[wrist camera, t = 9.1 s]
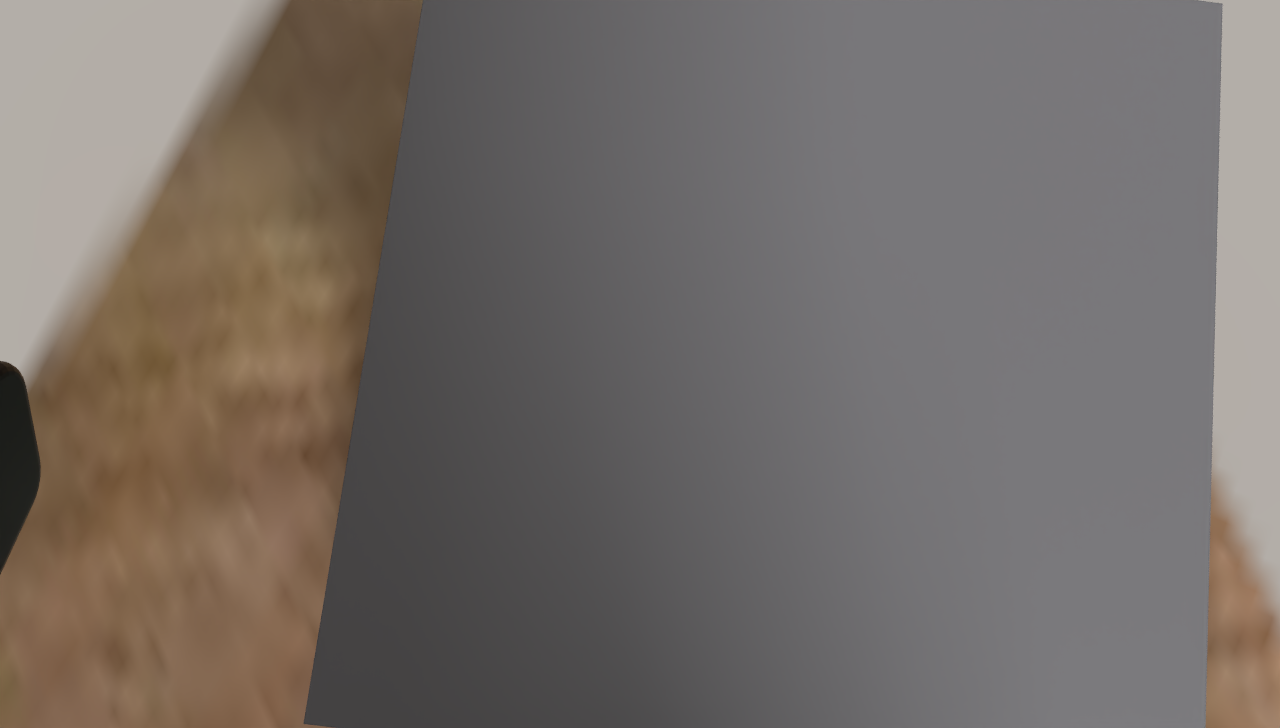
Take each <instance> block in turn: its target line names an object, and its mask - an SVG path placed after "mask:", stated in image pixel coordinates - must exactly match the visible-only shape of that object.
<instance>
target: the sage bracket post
mask: <svg viewBox="0 0 1280 728" xmlns="http://www.w3.org/2000/svg"><path fill="white" fill-rule="evenodd" d="M1221 40H1222V4H1221V3H1213V2H1206V1H1198V0H423V4H422V10H421V16H420V22H419V28H418V34H417V40H416V46H415V53H414V59H413V65H412V71H411V77H410V83H409V89H408V95H407V101H406V107H405V113H404V119H403V125H402V131H401V137H400V143H399V149H398V155H397V162H396V168H395V174H394V180H393V186H392V192H391V198H390V204H389V210H388V216H387V222H386V228H385V234H384V240H383V246H382V252H381V258H380V264H379V271H378V277H377V283H376V289H375V295H374V301H373V307H372V313H371V319H370V325H369V331H368V337H367V343H366V349H365V355H364V361H363V367H362V373H361V380H360V386H359V392H358V398H357V404H356V410H355V416H354V422H353V428H352V434H351V440H350V446H349V452H348V458H347V464H346V470H345V476H344V482H343V489H342V495H341V501H340V507H339V513H338V519H337V525H336V531H335V537H334V543H333V549H332V555H331V561H330V567H329V573H328V579H327V585H326V591H325V598H324V604H323V610H322V616H321V622H320V628H319V634H318V640H317V646H316V652H315V658H314V664H313V670H312V676H311V682H310V688H309V694H308V701H307V707H306V713H305V719H304V724H309V725H318V726H327V727H335V728H1205V721H1206V679H1207V636H1208V594H1209V552H1210V509H1211V467H1212V424H1213V379H1214V339H1215V296H1216V254H1217V253H1216V252H1217V212H1218V211H1217V210H1218V168H1219V125H1220V85H1221V84H1220V83H1221V82H1220V81H1221Z"/></svg>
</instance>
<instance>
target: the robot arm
mask: <svg viewBox="0 0 1280 728" xmlns="http://www.w3.org/2000/svg"><path fill="white" fill-rule="evenodd" d="M40 468H41V466H40V458H39V452H38V447H37V442H36V437H35V431H34V426H33V421H32V415H31V410H30V405H29V400H28V394H27V389H26V385H25V382H24V378H23V376H22V375H21V373H20V371H19V370H18V369H17V368H16V367H14V366H13V365H11V364H9V363H7V362H3V361H0V574H1V572H2V570H3V568H4V565H5V563H6V561H7V559H8V557H9V555H10V552H11V550H12V548H13V546H14V544H15V542H16V539H17V537H18V535H19V533H20V531H21V529H22V526H23V524H24V522H25V520H26V518H27V516H28V513H29V511H30V509H31V507H32V505H33V502H34V500H35V497H36V494H37V491H38V487H39V482H40Z"/></svg>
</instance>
